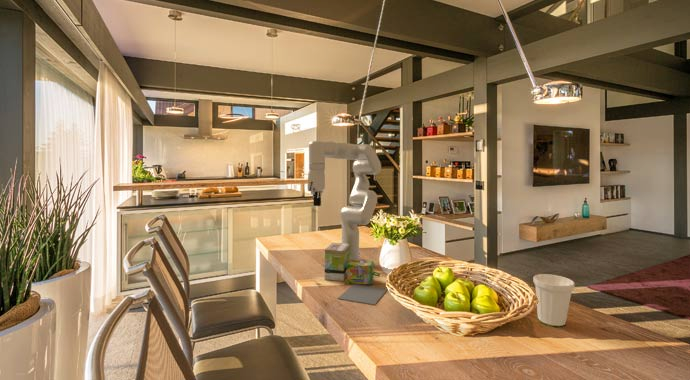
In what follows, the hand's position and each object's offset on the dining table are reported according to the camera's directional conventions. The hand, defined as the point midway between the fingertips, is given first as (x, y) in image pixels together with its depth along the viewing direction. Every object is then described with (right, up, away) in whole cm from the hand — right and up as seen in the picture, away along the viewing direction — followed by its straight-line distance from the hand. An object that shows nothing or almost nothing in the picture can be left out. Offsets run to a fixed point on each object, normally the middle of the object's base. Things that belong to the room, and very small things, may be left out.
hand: (317, 205), depth 169 cm
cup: (+87, -39, -44) cm, 105 cm away
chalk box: (+15, -31, -3) cm, 34 cm away
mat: (+21, -37, -19) cm, 46 cm away
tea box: (+10, -35, +6) cm, 37 cm away
